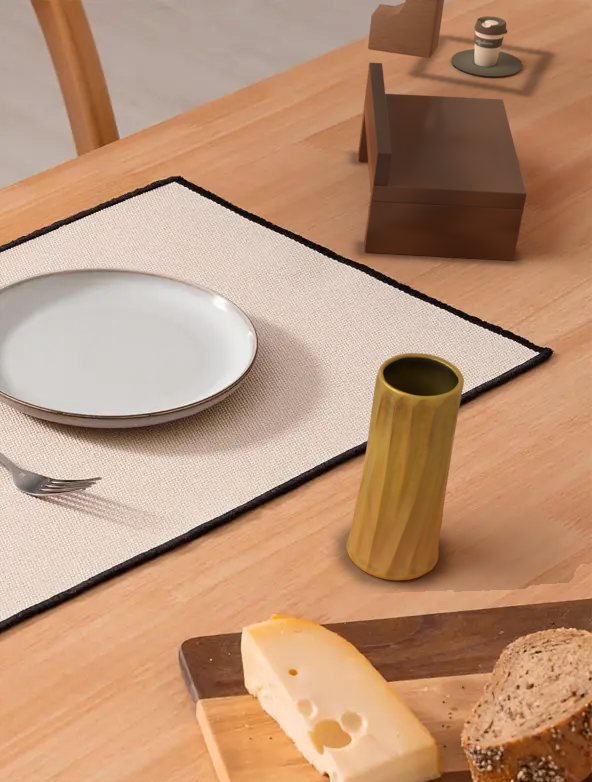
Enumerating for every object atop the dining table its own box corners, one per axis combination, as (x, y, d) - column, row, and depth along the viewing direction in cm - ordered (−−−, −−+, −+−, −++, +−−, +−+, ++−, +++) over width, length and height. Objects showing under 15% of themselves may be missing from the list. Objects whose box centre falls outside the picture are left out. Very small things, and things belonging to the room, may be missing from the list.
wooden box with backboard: (491, 162, 152) (508, 68, 146) (513, 261, 137) (533, 161, 131) (357, 155, 153) (369, 62, 147) (364, 252, 138) (377, 153, 132)
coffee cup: (549, 54, 174) (557, 10, 171) (526, 93, 165) (535, 48, 162) (443, 36, 178) (450, -7, 175) (416, 74, 169) (422, 29, 166)
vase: (330, 560, 104) (354, 382, 95) (370, 514, 108) (396, 338, 99) (414, 594, 101) (447, 413, 93) (452, 544, 105) (486, 367, 97)
